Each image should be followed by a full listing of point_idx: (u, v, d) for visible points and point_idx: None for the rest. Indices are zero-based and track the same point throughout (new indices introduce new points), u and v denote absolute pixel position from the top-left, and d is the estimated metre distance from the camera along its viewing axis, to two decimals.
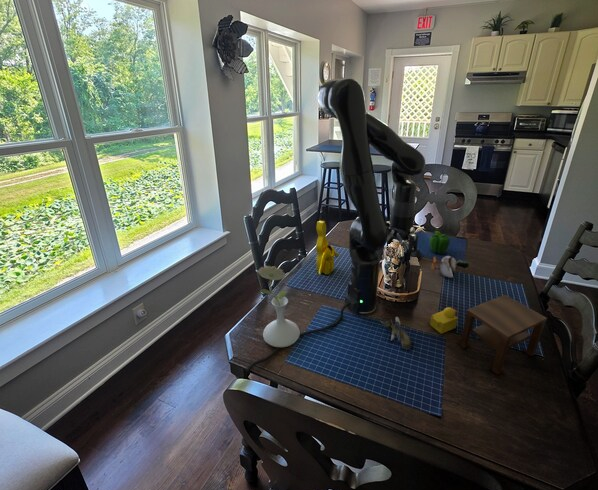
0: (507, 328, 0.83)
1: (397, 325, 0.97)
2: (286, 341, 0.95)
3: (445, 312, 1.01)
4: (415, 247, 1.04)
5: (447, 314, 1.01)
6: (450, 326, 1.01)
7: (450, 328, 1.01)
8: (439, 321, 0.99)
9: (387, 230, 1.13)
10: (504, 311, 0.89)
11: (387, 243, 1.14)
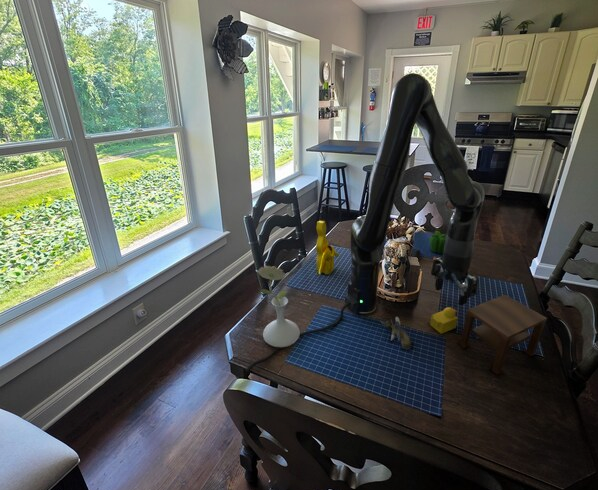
0: (507, 328, 0.83)
1: (397, 325, 0.97)
2: (286, 341, 0.95)
3: (445, 312, 1.01)
4: (474, 290, 0.91)
5: (447, 314, 1.01)
6: (450, 326, 1.01)
7: (450, 328, 1.01)
8: (439, 321, 0.99)
9: (437, 267, 1.01)
10: (504, 311, 0.89)
11: (437, 282, 1.01)
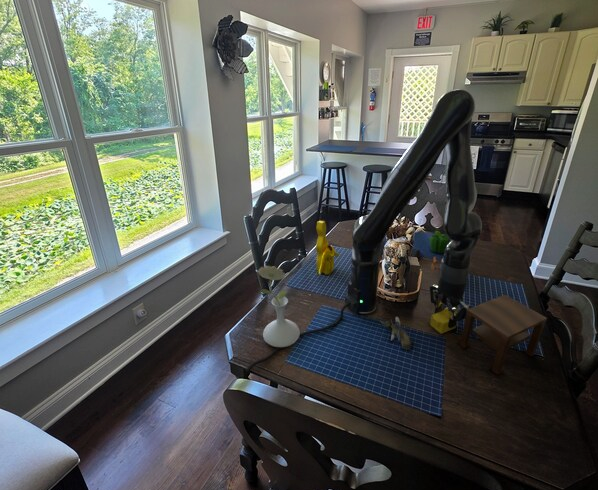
0: (507, 328, 0.83)
1: (397, 325, 0.97)
2: (286, 341, 0.95)
3: (445, 312, 1.01)
4: (463, 316, 0.96)
5: (447, 314, 1.01)
6: None
7: (450, 328, 1.01)
8: (439, 321, 0.99)
9: (434, 294, 1.04)
10: (504, 311, 0.89)
11: (436, 310, 1.03)
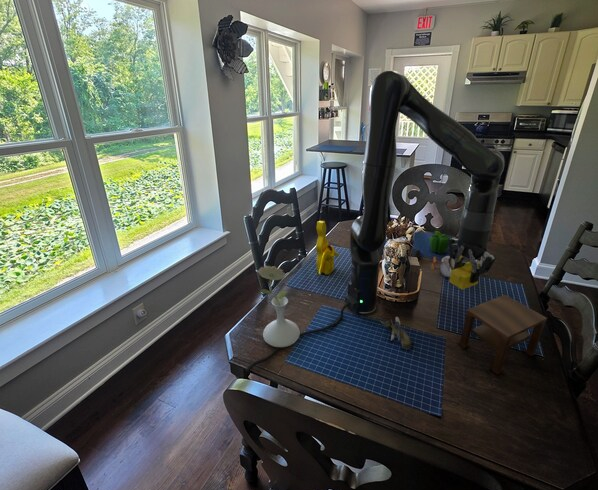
0: (507, 328, 0.83)
1: (397, 325, 0.97)
2: (286, 341, 0.95)
3: (466, 266, 0.93)
4: (488, 268, 0.87)
5: (469, 269, 0.92)
6: None
7: (472, 284, 0.92)
8: (460, 276, 0.91)
9: (454, 248, 0.95)
10: (504, 311, 0.89)
11: (456, 265, 0.94)
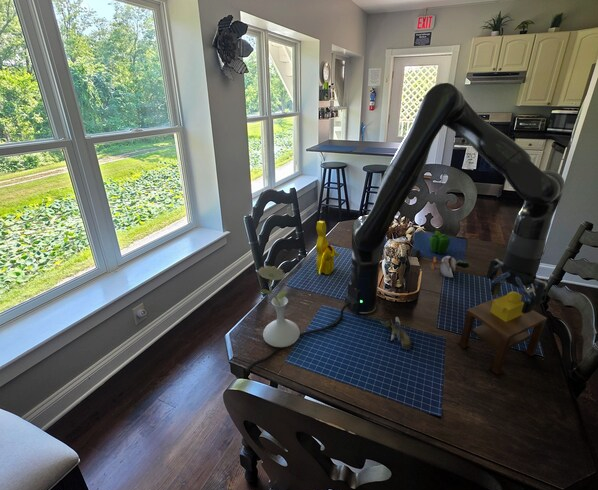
0: (507, 328, 0.83)
1: (397, 325, 0.97)
2: (286, 341, 0.95)
3: (509, 297, 0.87)
4: (543, 297, 0.79)
5: (513, 299, 0.86)
6: (516, 313, 0.86)
7: (515, 315, 0.87)
8: (504, 307, 0.85)
9: (494, 270, 0.89)
10: None
11: (494, 286, 0.89)
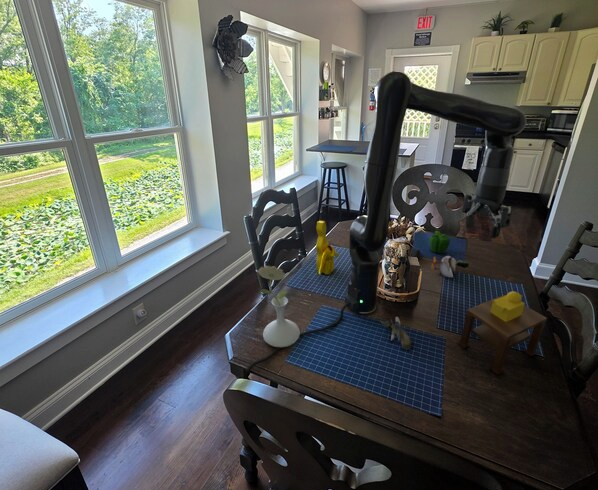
0: (507, 328, 0.83)
1: (397, 325, 0.97)
2: (286, 341, 0.95)
3: (509, 297, 0.87)
4: (508, 221, 0.91)
5: (513, 299, 0.86)
6: (516, 313, 0.86)
7: (515, 315, 0.87)
8: (504, 307, 0.85)
9: (468, 204, 1.01)
10: None
11: (468, 219, 1.01)
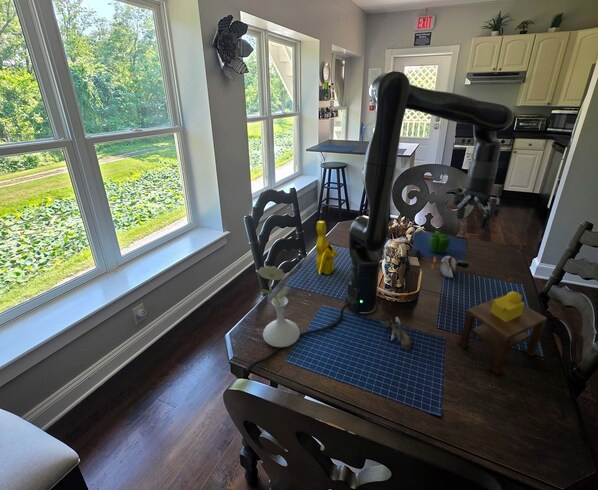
0: (507, 328, 0.83)
1: (397, 325, 0.97)
2: (286, 341, 0.95)
3: (509, 297, 0.87)
4: (496, 211, 0.96)
5: (513, 299, 0.86)
6: (516, 313, 0.86)
7: (515, 315, 0.87)
8: (504, 307, 0.85)
9: (459, 196, 1.06)
10: None
11: (459, 210, 1.06)
